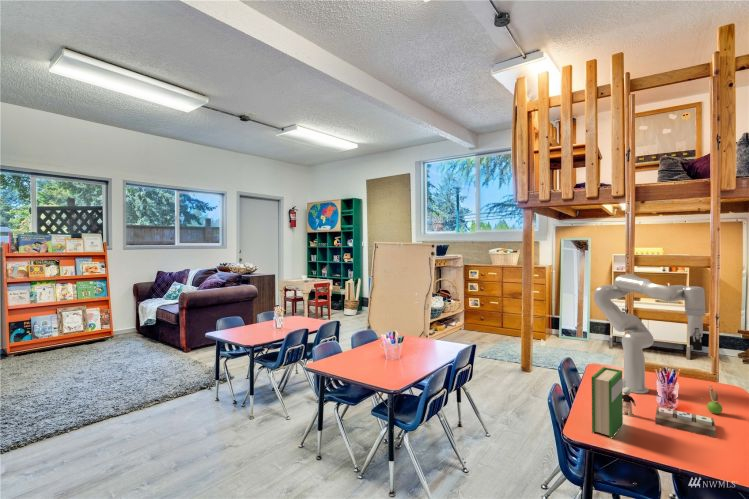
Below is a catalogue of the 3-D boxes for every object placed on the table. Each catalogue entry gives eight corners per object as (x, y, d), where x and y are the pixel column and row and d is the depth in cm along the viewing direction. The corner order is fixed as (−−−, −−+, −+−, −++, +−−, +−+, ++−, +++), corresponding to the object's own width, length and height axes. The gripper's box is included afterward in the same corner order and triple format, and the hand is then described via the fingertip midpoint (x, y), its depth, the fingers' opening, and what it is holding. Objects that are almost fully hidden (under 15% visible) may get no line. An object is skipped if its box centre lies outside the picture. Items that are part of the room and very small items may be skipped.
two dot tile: (658, 416, 171) (658, 410, 170) (659, 412, 174) (659, 406, 174) (672, 419, 167) (672, 413, 167) (672, 415, 171) (672, 409, 171)
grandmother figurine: (637, 415, 177) (637, 388, 176) (635, 418, 174) (635, 390, 174) (618, 410, 182) (617, 384, 182) (616, 413, 179) (616, 386, 179)
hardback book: (612, 438, 156) (611, 381, 156) (592, 432, 161) (591, 376, 161) (622, 424, 168) (622, 370, 168) (603, 418, 173) (603, 367, 173)
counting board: (655, 424, 168) (655, 417, 168) (656, 412, 179) (656, 406, 179) (715, 437, 155) (715, 430, 155) (713, 425, 166) (713, 418, 166)
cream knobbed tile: (696, 424, 162) (696, 418, 162) (696, 420, 166) (695, 414, 166) (711, 428, 159) (711, 421, 159) (711, 423, 163) (711, 417, 163)
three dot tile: (677, 420, 166) (677, 414, 166) (677, 416, 170) (677, 410, 170) (691, 423, 163) (691, 417, 163) (691, 419, 167) (691, 413, 167)
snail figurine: (717, 410, 180) (717, 385, 180) (725, 416, 174) (724, 390, 174) (703, 409, 182) (703, 384, 182) (710, 414, 176) (710, 389, 175)
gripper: (683, 309, 190) (685, 343, 190) (686, 314, 176) (687, 351, 176) (703, 310, 186) (705, 345, 185) (707, 315, 172) (709, 353, 172)
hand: (696, 347), depth 181 cm, fingers open, 9 cm apart
